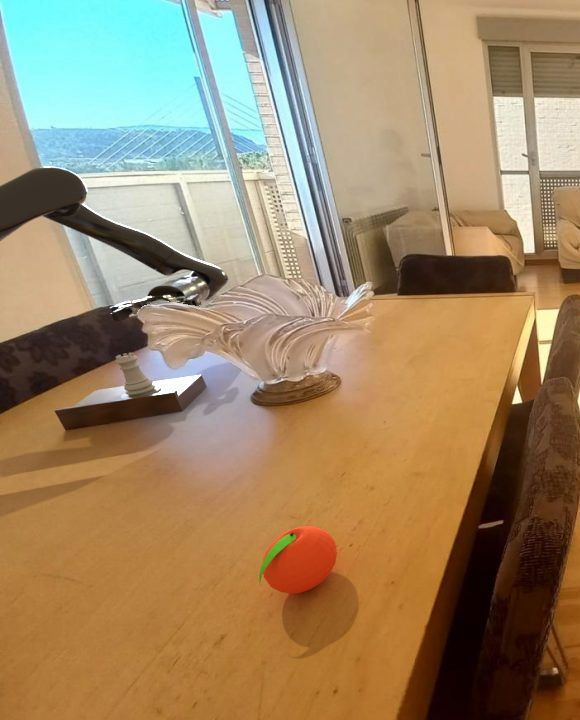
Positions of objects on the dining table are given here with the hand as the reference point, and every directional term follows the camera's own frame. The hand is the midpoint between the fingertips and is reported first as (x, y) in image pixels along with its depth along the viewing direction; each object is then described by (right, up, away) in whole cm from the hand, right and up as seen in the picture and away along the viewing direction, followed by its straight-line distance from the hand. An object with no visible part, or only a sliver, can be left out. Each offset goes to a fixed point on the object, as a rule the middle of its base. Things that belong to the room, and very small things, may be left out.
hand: (141, 314), depth 100 cm
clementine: (+66, -35, -46) cm, 88 cm away
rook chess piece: (+4, -16, -4) cm, 17 cm away
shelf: (+4, -19, -3) cm, 20 cm away
